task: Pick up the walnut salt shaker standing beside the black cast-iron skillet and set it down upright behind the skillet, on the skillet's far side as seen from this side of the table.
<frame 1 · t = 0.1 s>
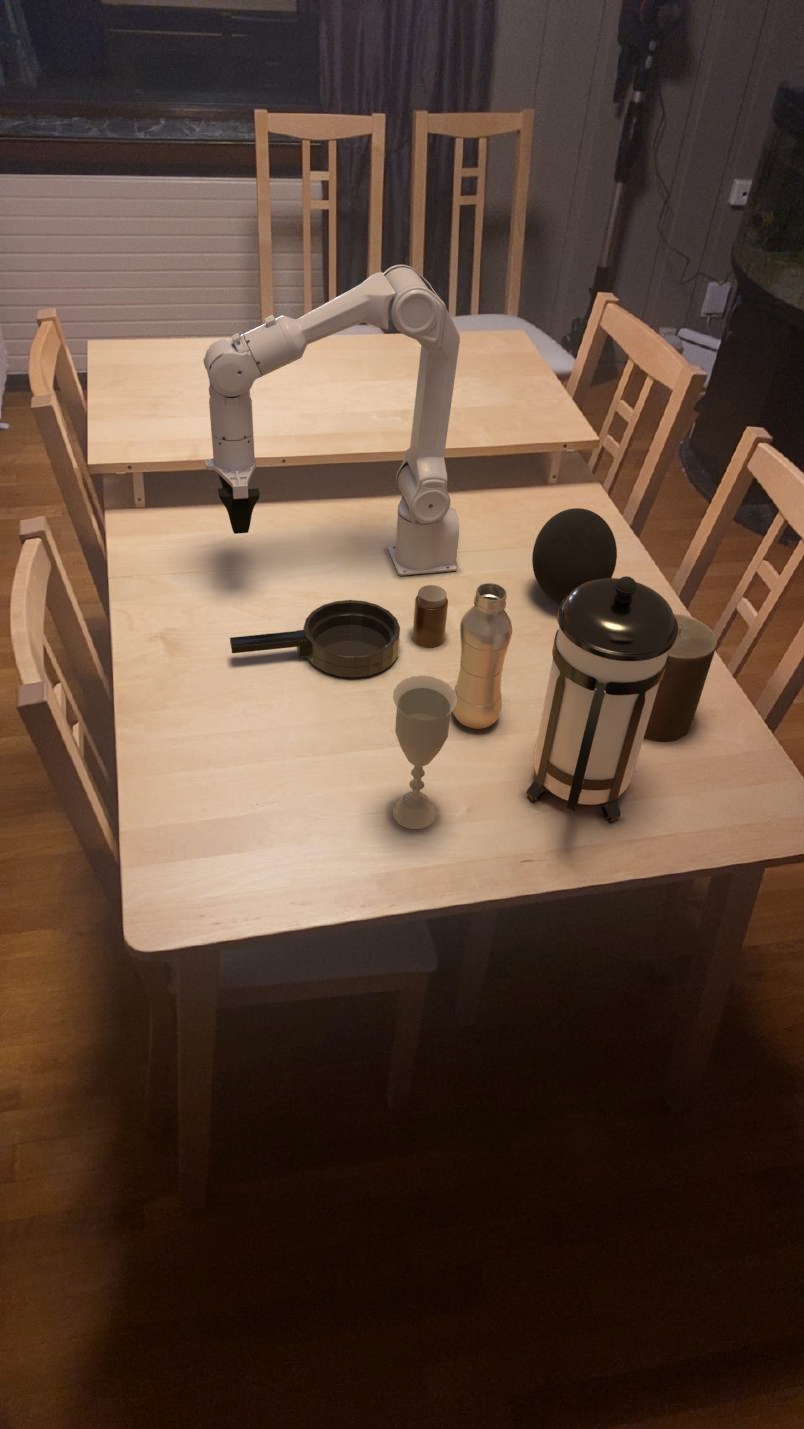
hand: (237, 518, 147), 10 cm above the table, tool pointing down, fingers open, 7 cm apart
coffee press: (579, 790, 123), on the table
pillar candle: (654, 717, 134), on the table
decorative egg: (565, 600, 153), on the table
salt shaker: (428, 638, 144), on the table
chalice: (414, 814, 118), on the table
skillet: (351, 650, 141), on the table
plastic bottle: (474, 719, 131), on the table
skillet handle: (269, 646, 137), point 2 cm above the table
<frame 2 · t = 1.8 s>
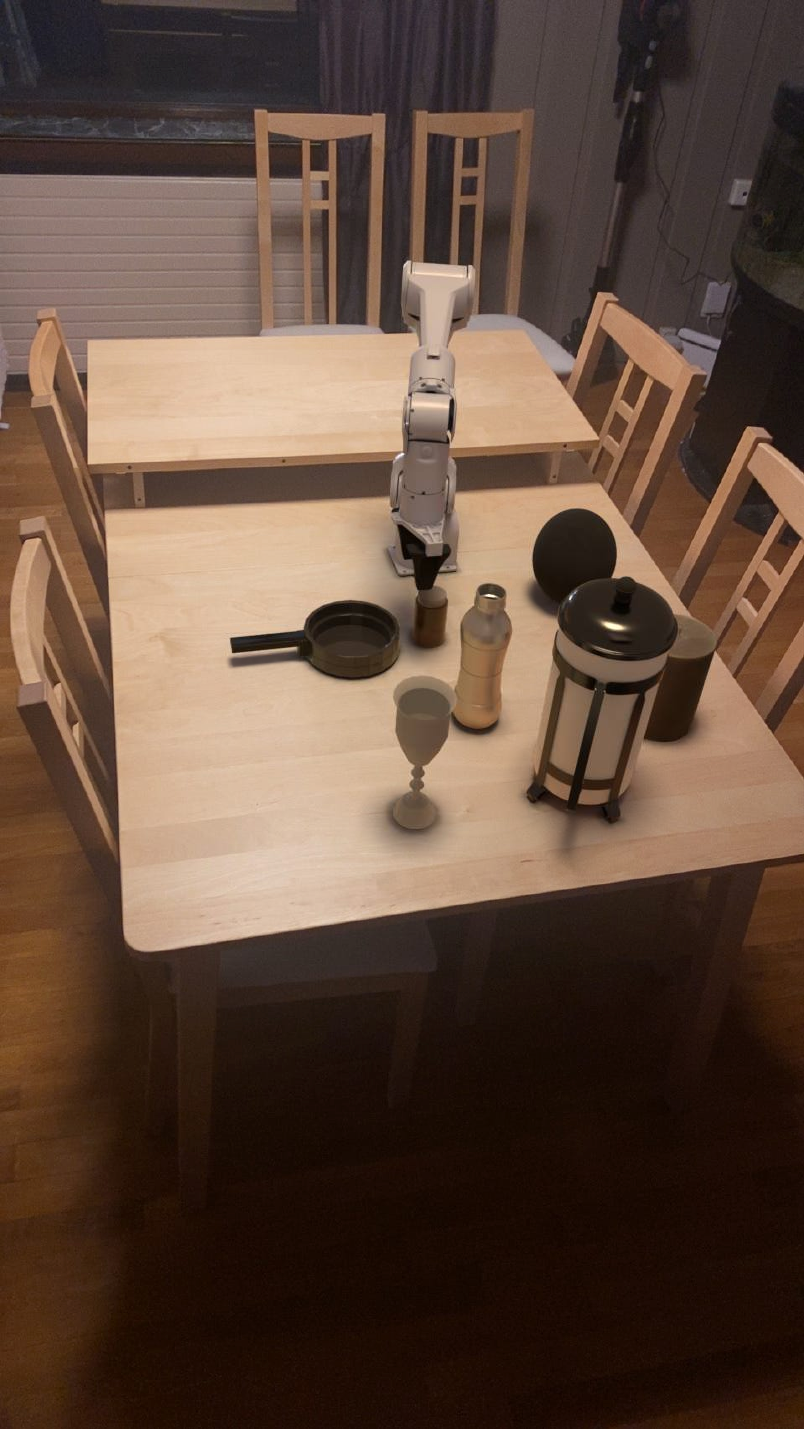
hand: (417, 573, 138), 10 cm above the table, tool pointing down, fingers open, 7 cm apart
nothing on the table moved.
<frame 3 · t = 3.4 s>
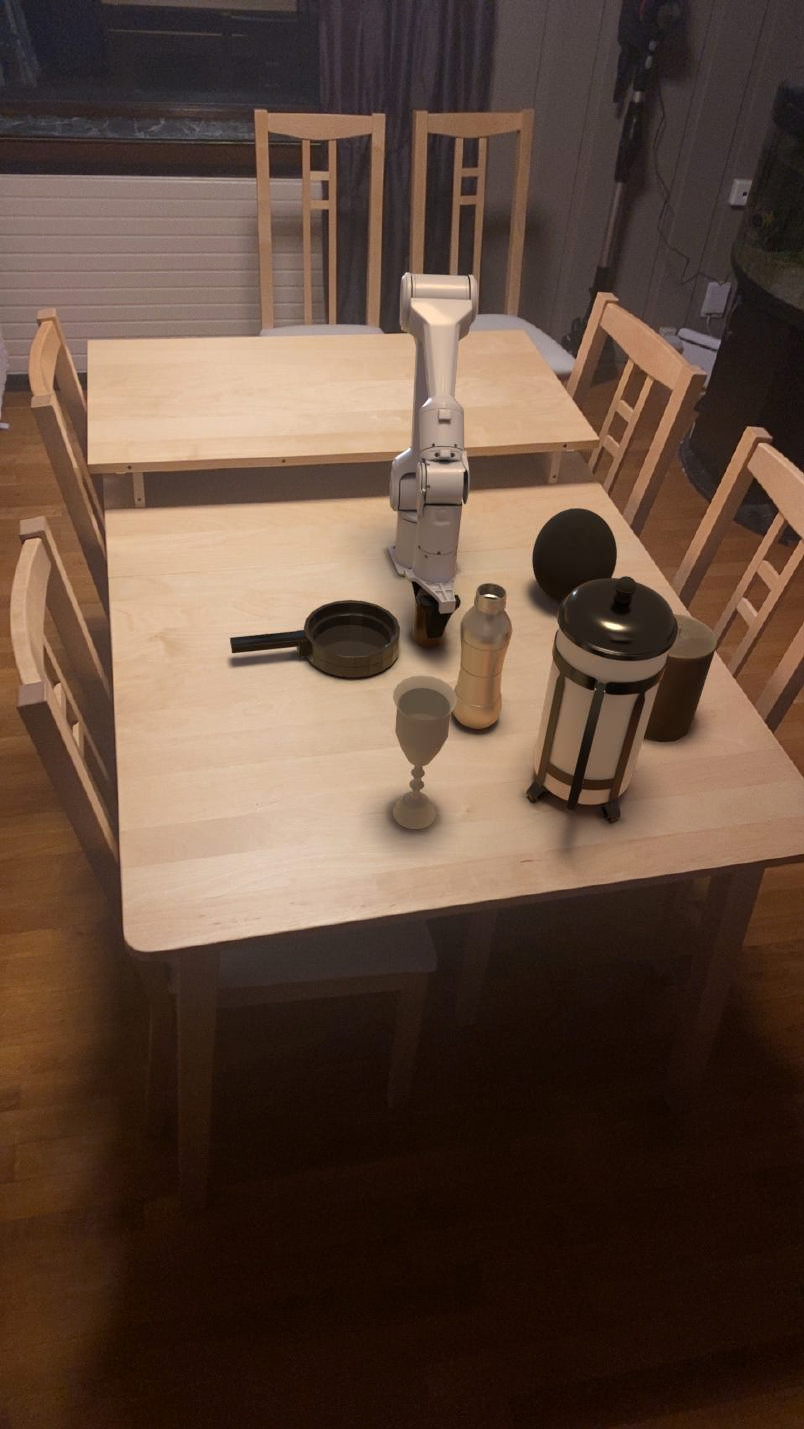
hand: (429, 625, 143), 2 cm above the table, tool pointing down, fingers closed on salt shaker, 4 cm apart
salt shaker: (428, 638, 144), on the table, touching gripper
everything else where it was.
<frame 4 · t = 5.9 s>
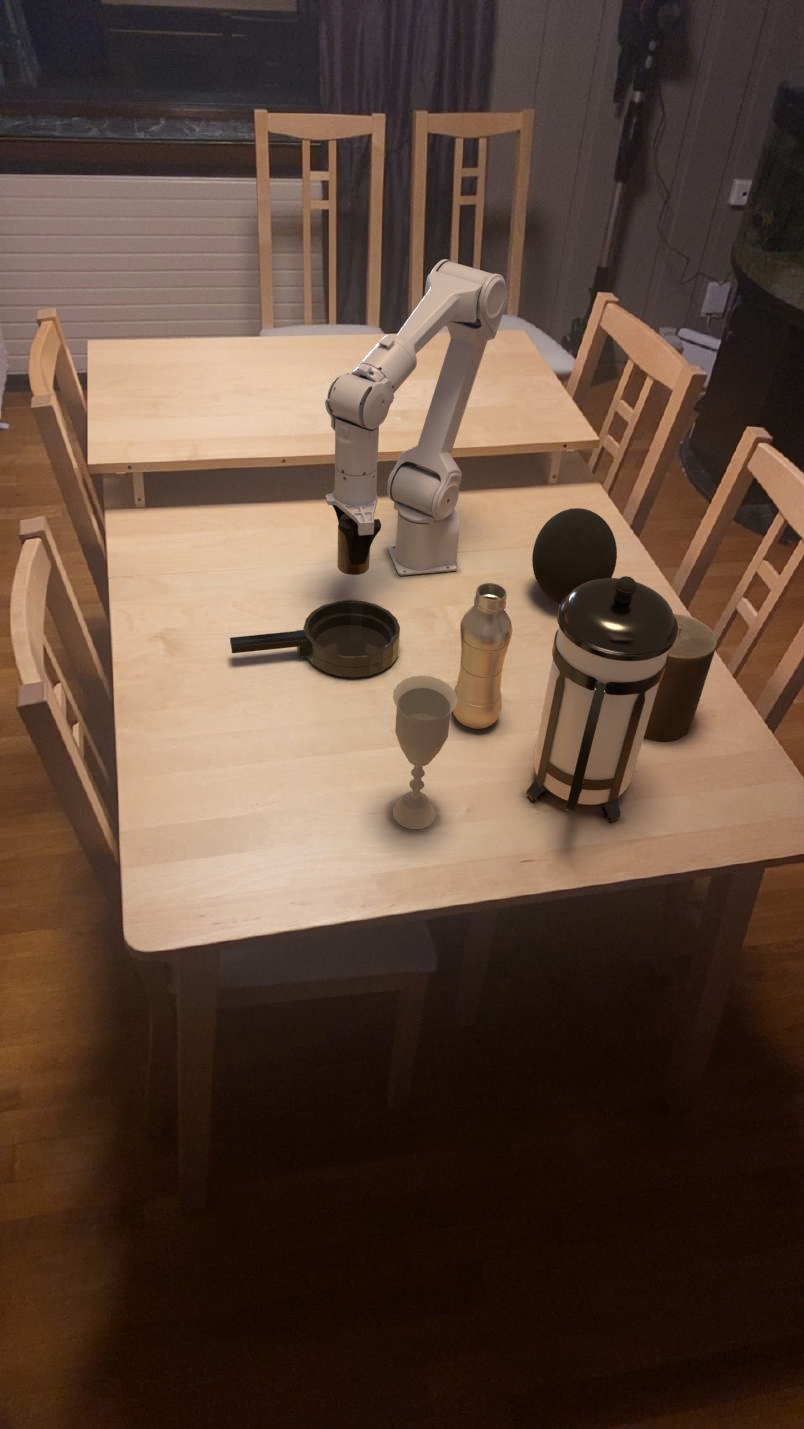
hand: (353, 553, 143), 9 cm above the table, tool pointing down, fingers closed on salt shaker, 4 cm apart
salt shaker: (353, 566, 144), point 7 cm above the table, touching gripper
everything else where it was.
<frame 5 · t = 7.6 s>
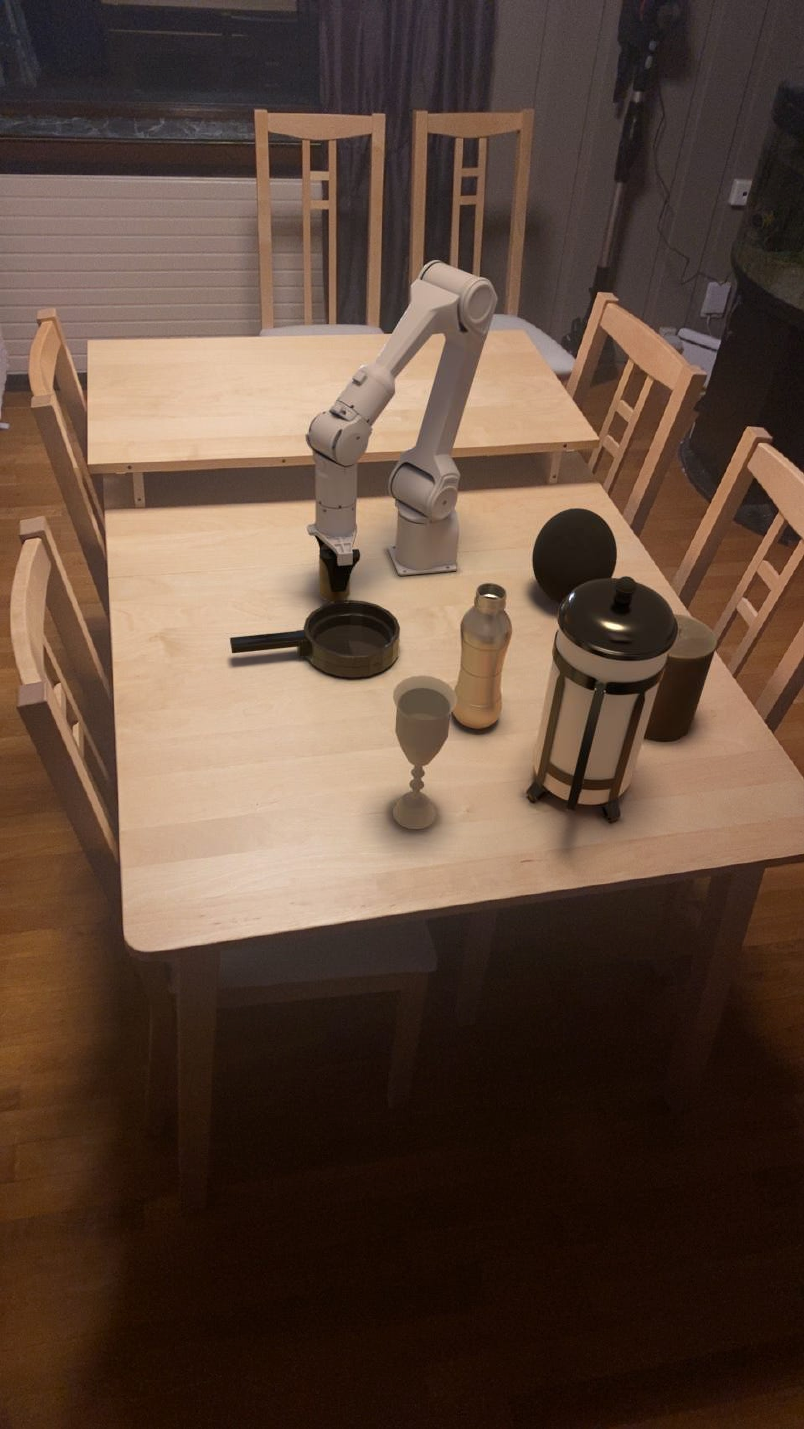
hand: (334, 580, 148), 3 cm above the table, tool pointing down, fingers closed on salt shaker, 4 cm apart
salt shaker: (334, 593, 149), point 1 cm above the table, touching gripper
everything else where it was.
when the fingers open (2 cm above the table, at t = 8.5 s): salt shaker stays where it is, on the table.
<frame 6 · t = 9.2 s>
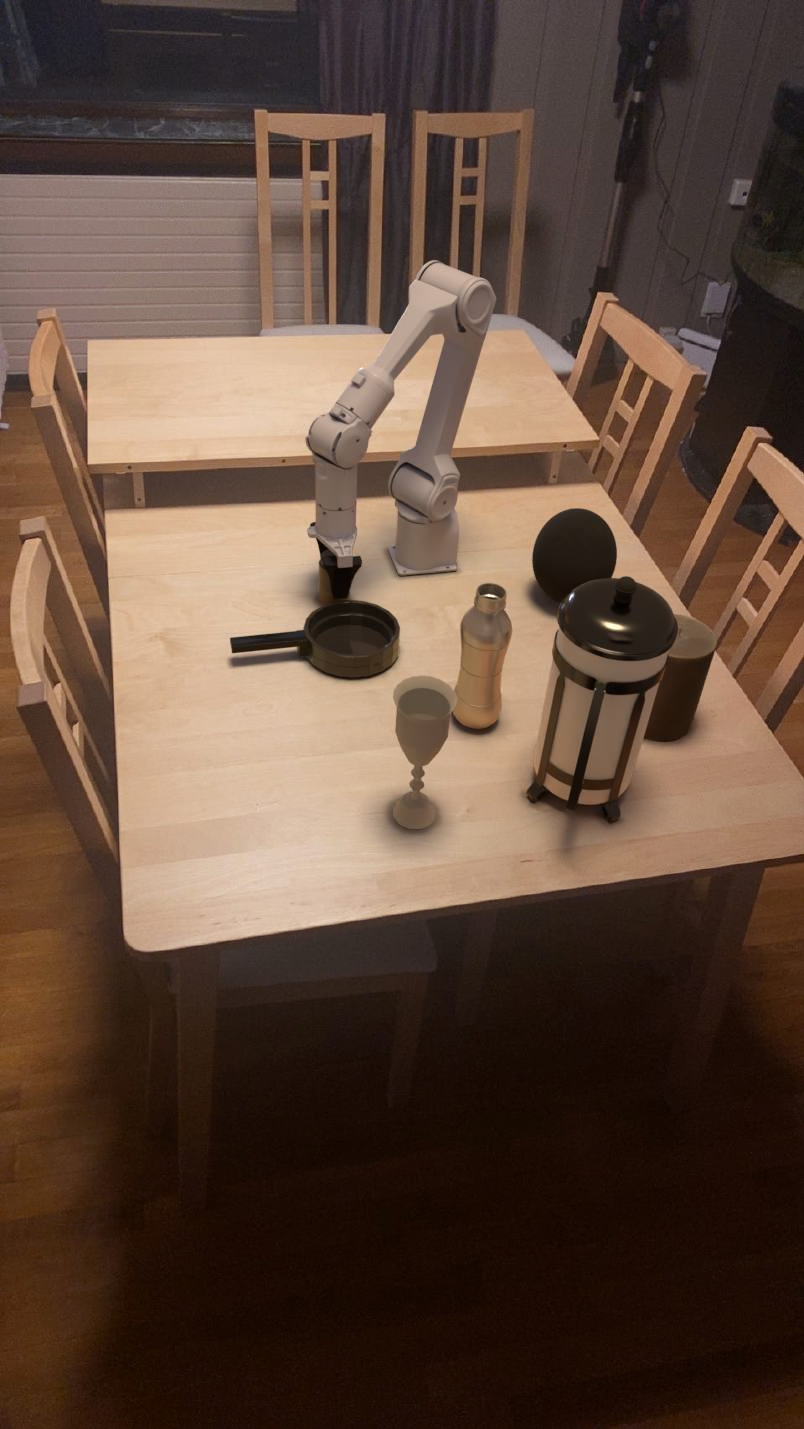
hand: (335, 582, 148), 3 cm above the table, tool pointing down, fingers open, 7 cm apart
salt shaker: (334, 600, 150), on the table
everything else where it was.
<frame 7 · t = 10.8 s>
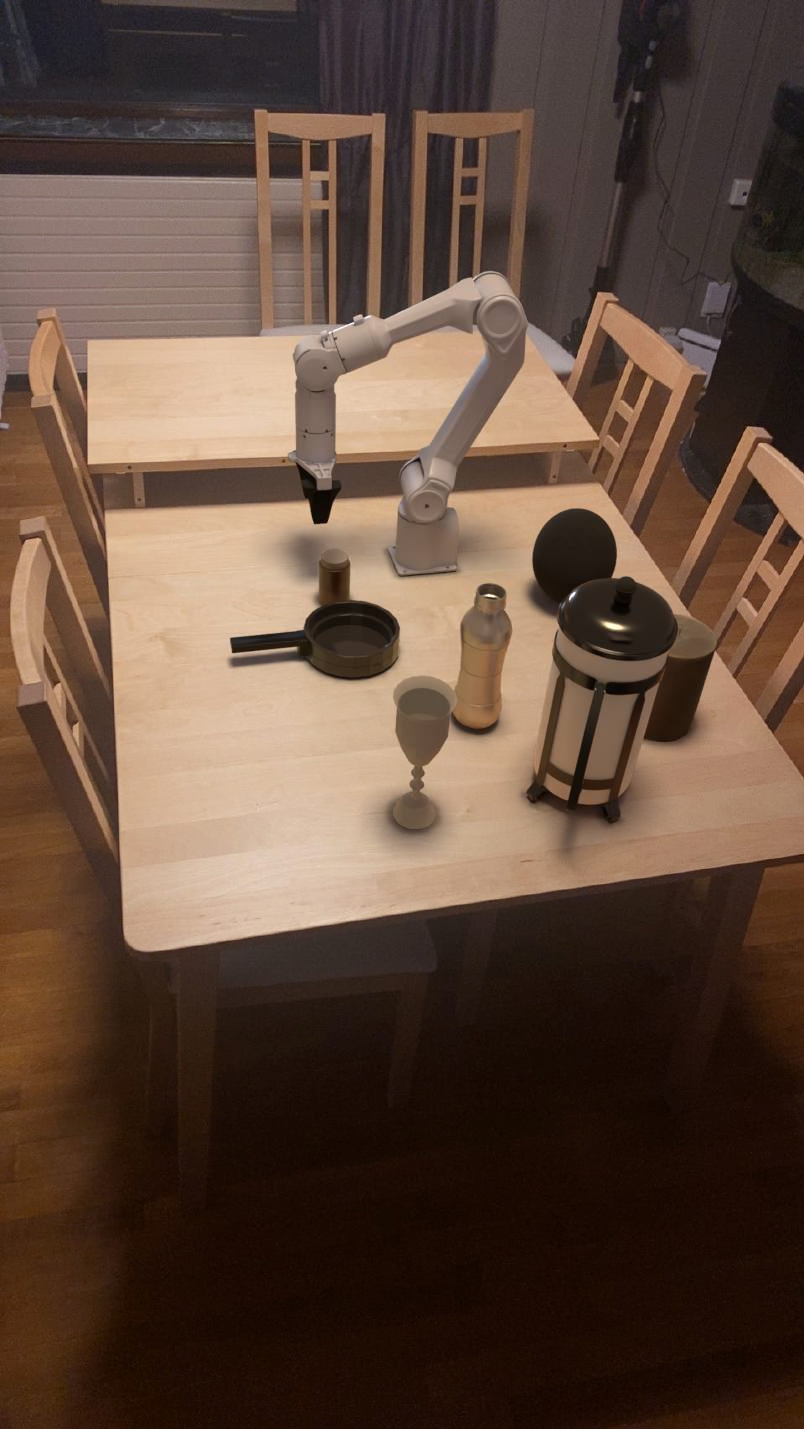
hand: (315, 509, 151), 9 cm above the table, tool pointing down, fingers open, 7 cm apart
nothing on the table moved.
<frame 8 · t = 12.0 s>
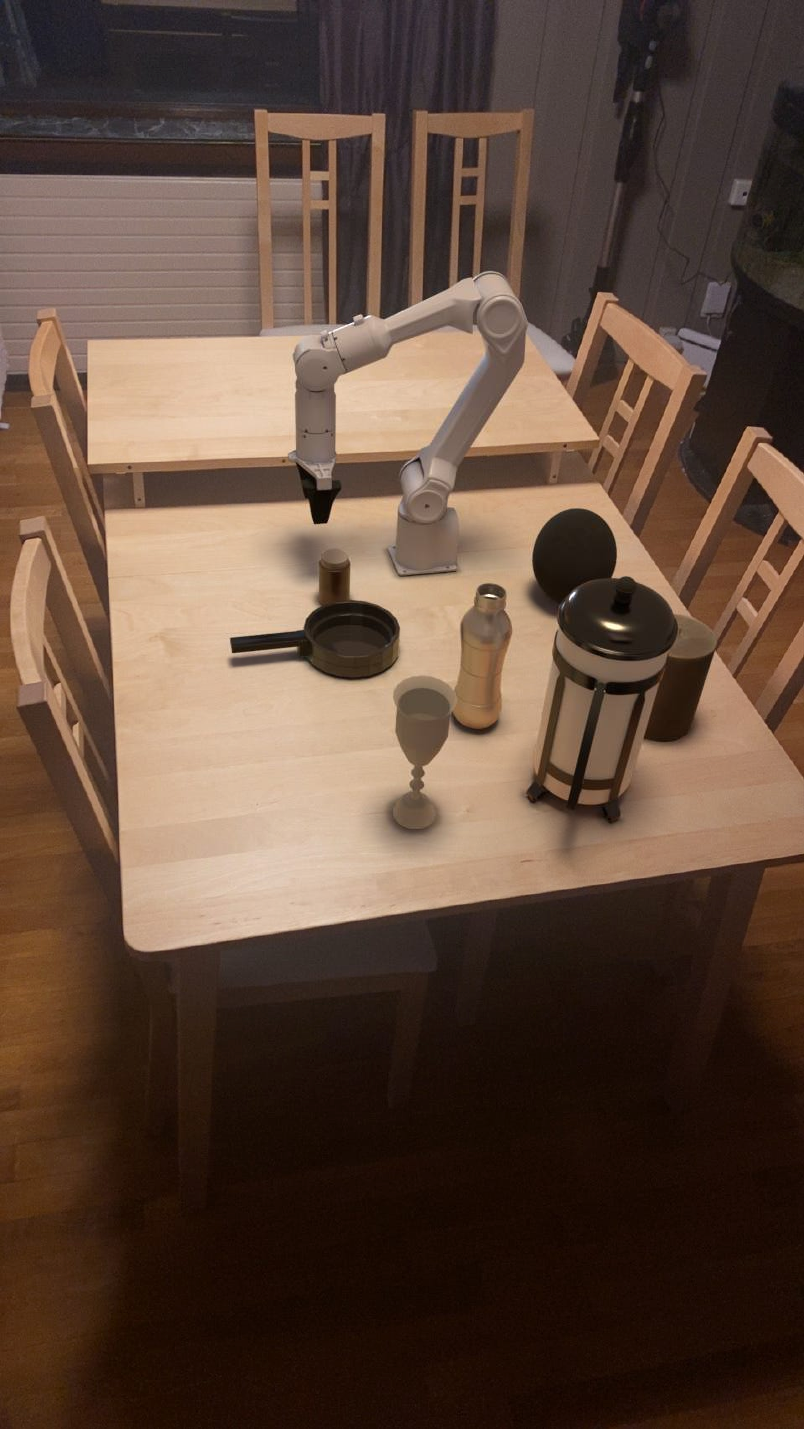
hand: (315, 509, 151), 9 cm above the table, tool pointing down, fingers open, 7 cm apart
nothing on the table moved.
at the end: salt shaker inside the target area on the table beside the skillet (0.6 cm from its centre), on the table; salt shaker tilted 0°; the gripper is holding nothing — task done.
